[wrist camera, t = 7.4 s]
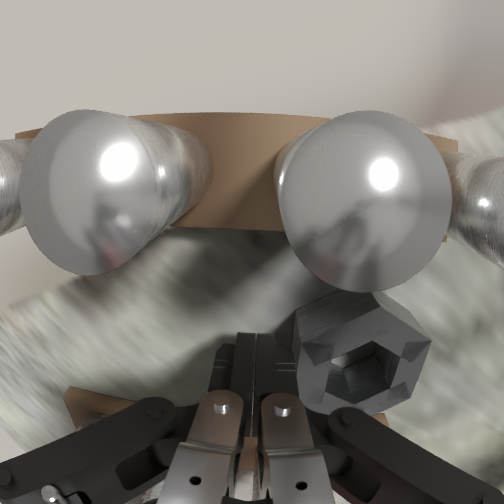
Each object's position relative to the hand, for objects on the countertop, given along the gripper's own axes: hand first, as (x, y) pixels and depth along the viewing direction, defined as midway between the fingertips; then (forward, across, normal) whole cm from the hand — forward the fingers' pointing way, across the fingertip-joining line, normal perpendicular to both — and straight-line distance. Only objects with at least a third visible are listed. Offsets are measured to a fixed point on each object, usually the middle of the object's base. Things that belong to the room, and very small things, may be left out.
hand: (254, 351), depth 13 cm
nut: (+1, -4, 0) cm, 4 cm away
